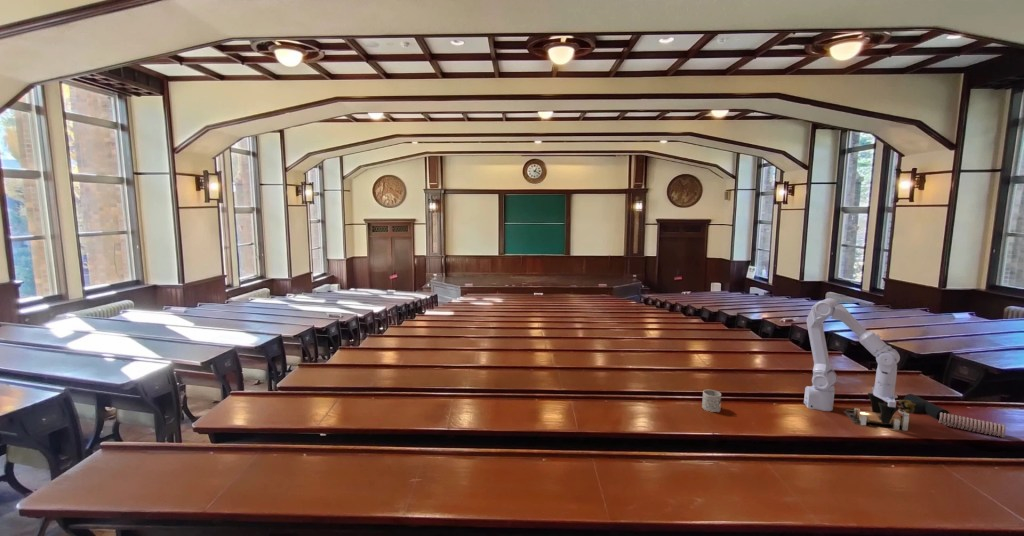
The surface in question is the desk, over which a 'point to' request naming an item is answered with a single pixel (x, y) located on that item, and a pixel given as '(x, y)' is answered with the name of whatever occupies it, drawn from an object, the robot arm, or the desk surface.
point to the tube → (877, 418)
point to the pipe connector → (920, 406)
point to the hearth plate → (851, 413)
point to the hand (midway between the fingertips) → (880, 418)
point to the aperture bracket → (904, 420)
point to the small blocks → (863, 418)
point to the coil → (972, 425)
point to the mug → (711, 400)
